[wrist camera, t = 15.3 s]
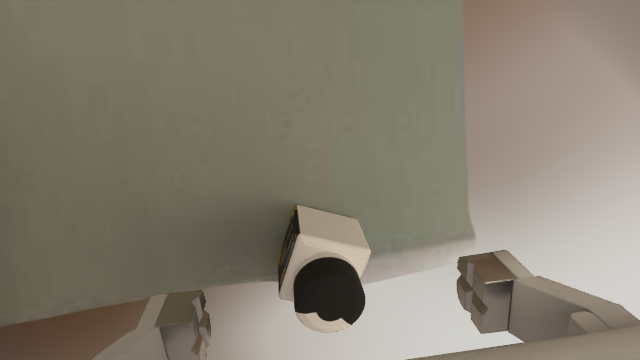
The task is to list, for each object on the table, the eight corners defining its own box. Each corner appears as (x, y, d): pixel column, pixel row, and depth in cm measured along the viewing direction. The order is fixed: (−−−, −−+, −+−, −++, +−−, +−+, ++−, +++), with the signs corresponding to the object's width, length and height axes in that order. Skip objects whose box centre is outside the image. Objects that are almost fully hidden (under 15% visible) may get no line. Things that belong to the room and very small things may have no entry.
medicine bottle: (295, 203, 44) (302, 263, 32) (358, 218, 45) (385, 281, 34) (277, 260, 46) (278, 335, 35) (338, 273, 47) (357, 350, 36)
